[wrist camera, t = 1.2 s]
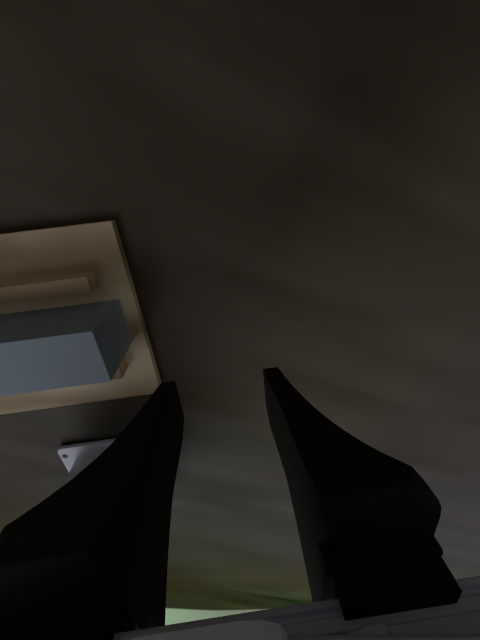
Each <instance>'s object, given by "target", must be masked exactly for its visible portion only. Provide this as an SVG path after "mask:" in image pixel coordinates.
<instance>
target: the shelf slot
mask: <svg viewBox="0 0 480 640" xmlns="http://www.w3.org/2000/svg"><path fill="white" fill-rule="evenodd" d="M117 299H120V302H121V306H122V309H123V312H124V315H125V318H126V321H127V325H128V328H129V331H130V334H131V337H132V340H133V342H132V344H131V345H130V347H129V349H128V351H127V353H126V355H125V357H124V358H123V360H122V362H121V364H120V366H119V368H118V370H117V371H116V373H115V375H114V377H113V379H112V381H111V382H104V383H96V384H89V385H81V386H74V387H67V388H59V389H52V390H44V391H37V392H30V393H22V394H15V395H7V396H0V415H1V414H9V413H16V412H23V411H31V410H38V409H45V408H52V407H60V406H67V405H74V404H82V403H89V402H96V401H104V400H111V399H118V398H126V397H133V396H140V395H148V394H153V393H154V391H155V390H156V389H157V387H158V386H159V385H160V384H161V383H162V382H161V379H160V375H159V372H158V368H157V365H156V361H155V358H154V354H153V351H152V347H151V344H150V340H149V337H148V333H147V330H146V326H145V323H144V319H143V316H142V312H141V309H140V305H139V302H138V298H137V295H136V291H135V287H134V284H133V280H132V277H131V273H130V270H129V266H128V263H127V259H126V256H125V252H124V249H123V245H122V242H121V238H120V235H119V231H118V228H117V224H116V221H115V220H110V221H101V222H93V223H85V224H77V225H68V226H60V227H52V228H43V229H35V230H27V231H19V232H10V233H2V234H0V314H8V313H16V312H24V311H32V310H39V309H47V308H55V307H63V306H71V305H78V304H86V303H94V302H102V301H110V300H117Z"/></svg>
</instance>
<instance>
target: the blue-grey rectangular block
mask: <svg viewBox="0 0 480 640" xmlns="http://www.w3.org/2000/svg"><path fill="white" fill-rule="evenodd" d="M132 342H133V340H132V337H131V334H130V331H129V328H128V325H127V321H126V318H125V315H124V312H123V309H122V306H121V302H120V299H117V300H110V301H102V302H94V303H86V304H78V305H71V306H63V307H55V308H47V309H39V310H32V311H24V312H16V313H8V314H0V396H7V395H15V394H22V393H30V392H37V391H44V390H52V389H59V388H67V387H74V386H81V385H89V384H96V383H104V382H111V381H112V379H113V377H114V375H115V373H116V371H117V370H118V368H119V366H120V364H121V362H122V360H123V358H124V357H125V355H126V353H127V351H128V349H129V347H130V345H131V344H132Z"/></svg>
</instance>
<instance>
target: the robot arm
mask: <svg viewBox="0 0 480 640" xmlns="http://www.w3.org/2000/svg"><path fill="white" fill-rule="evenodd" d="M263 375H264V386H265V398H266V407H267V412H268V417H269V422H270V426H271V430H272V433H273V436H274V439H275V442H276V446H277V449H278V452H279V455H280V458H281V461H282V465H283V468H284V471H285V474H286V478H287V482H288V486H289V490H290V495H291V499H292V504H293V508H294V513H295V518H296V522H297V527H298V532H299V536H300V541H301V546H302V551H303V556H304V560H305V565H306V570H307V575H308V580H309V585H310V590H311V595H312V600H313V602H312V603H305V604H299V605H293V606H286V607H280V608H274V609H267V610H261V611H255V612H248V613H242V614H236V615H230V616H223V617H217V618H210V619H204V620H198V621H191V622H185V623H178V624H172V625H166V626H165V607H166V582H167V564H168V547H169V532H170V519H171V507H172V497H173V490H174V484H175V479H176V473H177V468H178V462H179V457H180V451H181V445H182V439H183V424H184V415H183V411H182V407H181V403H180V399H179V395H178V392H177V388H176V384H175V381H172V382H165V383H161V384H160V385H159V386H158V387H157V389H156V390H155V391H154V393H153V394H152V396H151V397H150V398H149V400H148V401H147V402H146V404H145V405H144V406H143V407H142V409H141V410H140V411H139V413H138V414H137V415H136V416H135V418H134V419H133V420H132V421H131V422H130V424H129V425H128V426H127V427H126V428H125V429H124V431H123V432H122V433H121V434H120V435H119V436H118V437H117V438H114V439H107V440H100V441H93V442H86V443H79V444H71V445H64V446H61V447H60V448H59V449H58V454H59V456H60V458H61V459H62V461H63V463H64V465H65V466H66V468H67V470H68V472H69V474H68V476H67V478H66V480H65V482H64V483H63V485H62V487H61V488H60V489H59V490H57V491H56V492H55V493H53V494H52V495H51V496H49V497H48V498H46V499H45V500H44V501H42V502H41V503H39V504H38V505H37V506H35V507H34V508H32V509H31V510H29V511H28V512H26V513H25V514H23V515H22V516H20V517H19V518H17V519H16V520H14V521H13V522H11V523H10V524H8V525H6V526H5V527H4V529H3V530H2V532H1V533H0V640H480V576H477V577H471V578H464V579H458V580H455V578H454V577H453V575H452V573H451V572H450V570H449V569H448V567H447V565H446V564H445V562H444V560H443V559H442V557H441V556H442V555H443V551H442V548H441V547H440V545H439V543H438V542H437V540H436V539H435V537H434V533H435V530H436V528H437V525H438V522H439V519H440V514H441V505H440V502H439V500H438V499H437V497H436V496H435V494H434V493H433V492H432V490H431V489H430V487H429V486H428V485H427V484H426V482H425V481H424V480H423V479H422V478H421V476H420V475H419V474H418V473H417V472H416V471H415V470H414V468H413V467H412V466H409V465H407V464H405V463H403V462H401V461H399V460H397V459H394V458H392V457H390V456H388V455H386V454H384V453H382V452H380V451H378V450H376V449H374V448H372V447H371V446H369V445H367V444H365V443H363V442H362V441H360V440H358V439H357V438H355V437H354V436H352V435H350V434H349V433H347V432H346V431H344V430H343V429H341V428H340V427H338V426H337V425H336V424H334V423H333V422H332V421H330V420H329V419H328V418H326V417H325V416H324V415H323V414H321V413H320V412H319V411H318V410H317V409H316V408H314V407H313V406H312V405H311V404H310V403H309V402H308V401H307V400H306V399H305V398H304V397H303V396H302V395H301V394H300V393H299V392H298V391H297V390H296V389H295V388H294V387H293V386H292V385H291V383H290V382H289V381H288V380H287V379H286V378H285V376H284V375H283V374H282V372H281V371H280V370H279V369H278V368H277V367H275V368H268V369H263Z"/></svg>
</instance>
